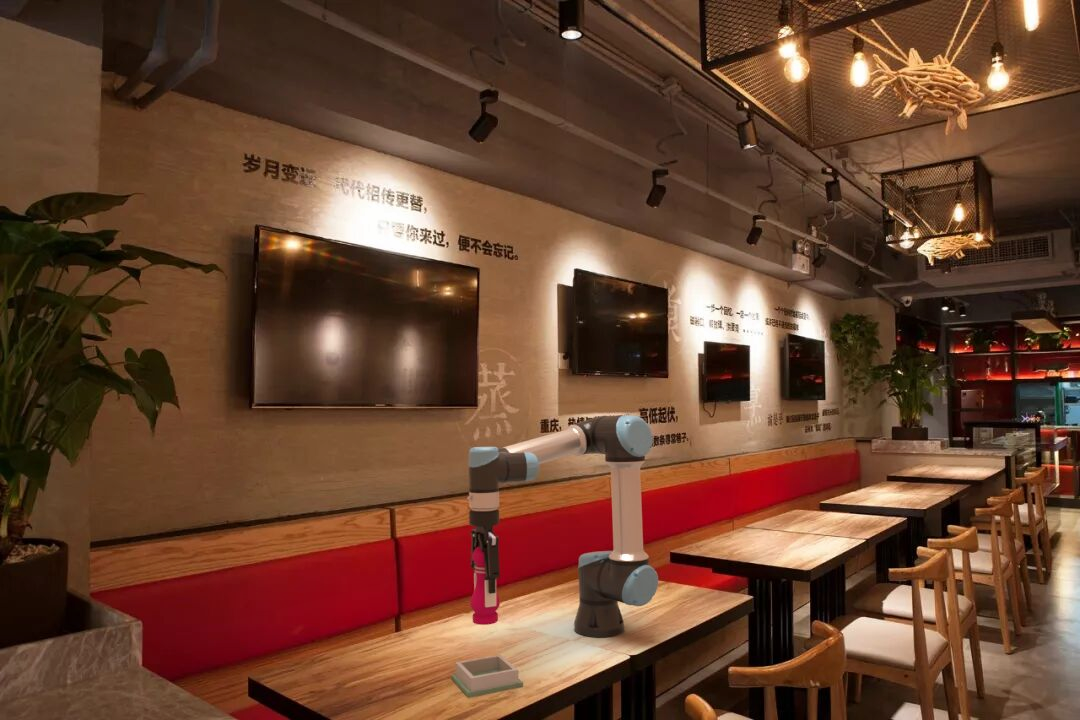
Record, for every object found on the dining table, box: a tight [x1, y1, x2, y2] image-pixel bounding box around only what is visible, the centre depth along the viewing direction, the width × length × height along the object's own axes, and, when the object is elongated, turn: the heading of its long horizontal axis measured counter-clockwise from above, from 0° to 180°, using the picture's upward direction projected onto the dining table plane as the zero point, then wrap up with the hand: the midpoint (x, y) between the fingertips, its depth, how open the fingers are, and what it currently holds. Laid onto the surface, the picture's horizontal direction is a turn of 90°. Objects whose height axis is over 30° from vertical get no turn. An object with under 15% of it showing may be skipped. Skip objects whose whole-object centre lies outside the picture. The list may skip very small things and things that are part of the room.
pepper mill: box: [470, 546, 501, 626], centre depth 174 cm, size 7×7×20 cm
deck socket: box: [450, 654, 524, 698], centre depth 172 cm, size 14×13×4 cm
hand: (485, 602), depth 173 cm, fingers closed on pepper mill, 7 cm apart
